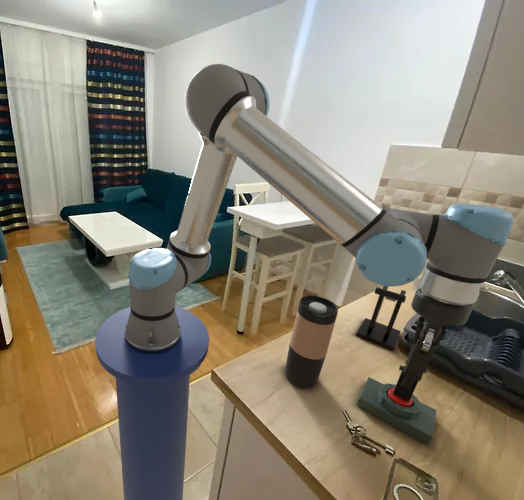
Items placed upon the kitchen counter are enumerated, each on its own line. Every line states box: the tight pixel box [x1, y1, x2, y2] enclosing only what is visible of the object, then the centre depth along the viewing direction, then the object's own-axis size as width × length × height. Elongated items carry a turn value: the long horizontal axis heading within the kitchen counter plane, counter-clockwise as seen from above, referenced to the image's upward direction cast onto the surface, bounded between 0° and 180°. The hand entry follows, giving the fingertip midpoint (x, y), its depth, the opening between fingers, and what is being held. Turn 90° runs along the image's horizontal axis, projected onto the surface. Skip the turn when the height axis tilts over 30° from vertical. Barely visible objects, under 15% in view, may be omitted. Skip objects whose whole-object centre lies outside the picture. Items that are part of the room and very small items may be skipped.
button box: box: [356, 376, 437, 445], centre depth 60 cm, size 12×8×4 cm, turn 46°
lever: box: [374, 286, 407, 304], centre depth 75 cm, size 13×6×2 cm, turn 136°
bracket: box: [355, 286, 407, 352], centre depth 81 cm, size 10×9×15 cm
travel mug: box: [284, 295, 339, 389], centre depth 65 cm, size 8×8×20 cm
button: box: [387, 388, 412, 407], centre depth 59 cm, size 4×4×2 cm
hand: (401, 395), depth 59 cm, fingers closed
